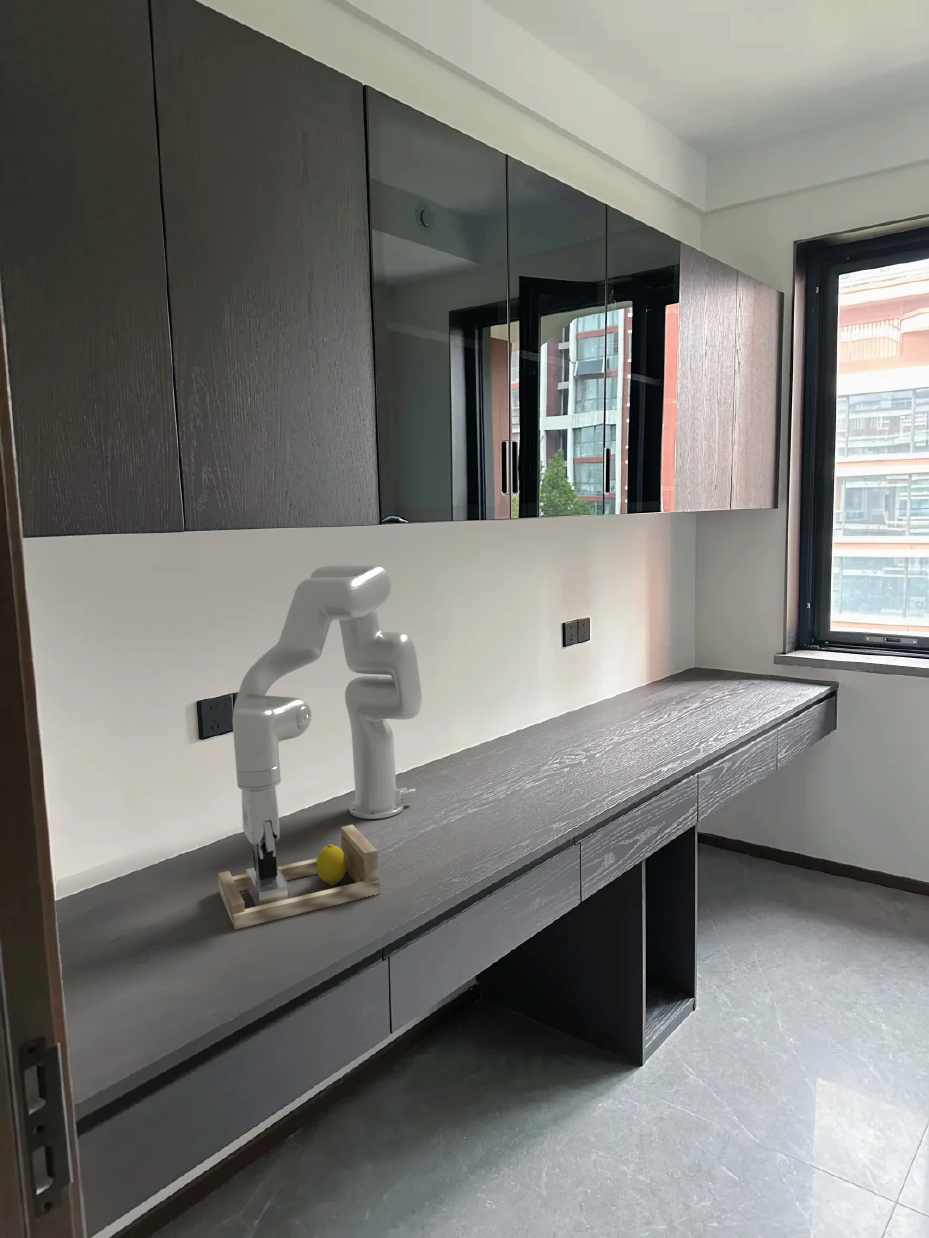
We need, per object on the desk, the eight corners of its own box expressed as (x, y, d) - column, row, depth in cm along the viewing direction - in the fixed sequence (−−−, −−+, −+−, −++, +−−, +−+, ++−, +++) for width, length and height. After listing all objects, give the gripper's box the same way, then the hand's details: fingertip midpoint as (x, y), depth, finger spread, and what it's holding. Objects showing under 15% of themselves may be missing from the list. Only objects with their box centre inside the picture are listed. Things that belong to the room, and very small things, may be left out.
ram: (277, 882, 159) (273, 824, 158) (292, 906, 150) (287, 845, 148) (247, 889, 157) (243, 830, 155) (260, 914, 147) (255, 851, 146)
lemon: (333, 875, 162) (331, 836, 161) (353, 883, 159) (351, 842, 158) (311, 886, 158) (309, 845, 157) (331, 894, 154) (329, 852, 153)
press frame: (353, 861, 168) (351, 823, 167) (381, 893, 154) (378, 851, 153) (219, 891, 157) (215, 850, 156) (235, 929, 143) (231, 884, 142)
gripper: (228, 767, 156) (236, 861, 158) (246, 792, 141) (254, 896, 144) (269, 760, 159) (276, 853, 161) (290, 785, 144) (297, 886, 147)
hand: (265, 872), depth 152 cm, fingers closed on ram, 3 cm apart
